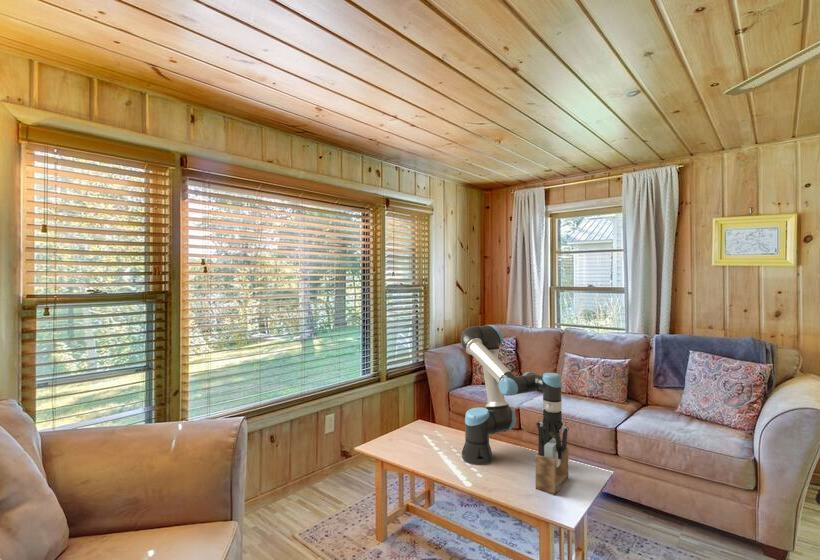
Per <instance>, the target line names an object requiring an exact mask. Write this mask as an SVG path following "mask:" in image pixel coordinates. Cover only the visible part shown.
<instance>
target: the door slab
mask: <svg viewBox="0 0 820 560" xmlns="http://www.w3.org/2000/svg"><path fill="white" fill-rule="evenodd" d="M556 451H557V445H556V439H555V438H552V439H551V440H550V441H549V442H548V443H546V444H545V445H544V457H547V458H551V459H554V460H556ZM560 464H561V459H560ZM556 468H557V467H556Z"/></svg>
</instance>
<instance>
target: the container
mask: <svg viewBox="0 0 820 560" xmlns="http://www.w3.org/2000/svg"><path fill="white" fill-rule="evenodd" d="M536 426H537V425H536ZM537 428H538V426H537ZM545 432H546V428H545V426H544V425H543V434H544V440H545V434H546V433H545ZM552 438H555V435H554V433H553V432H550V438H549V441H550V440H551V439H552ZM537 447H538V449H537V450H538V451H537V455H540V456H544V447H543V446H540V445H539V438H538V446H537Z"/></svg>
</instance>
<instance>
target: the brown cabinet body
mask: <svg viewBox="0 0 820 560" xmlns="http://www.w3.org/2000/svg"><path fill="white" fill-rule="evenodd" d="M567 481H569V447H568V446H567V449H566V450H565V451H562V458H561V464H560V465H559V466H558V467H557V468H556V460H554V459H551V458H547V457H544V456H540V455H538V454H536V455H535V490H538V491H541V492H543V493H546V494H549V495H552V496H555V495H556V494H558V492H559V491H560V490H561V489H562V488H563V487H564V485H565V484H566V483H567Z"/></svg>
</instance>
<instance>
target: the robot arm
mask: <svg viewBox="0 0 820 560" xmlns="http://www.w3.org/2000/svg"><path fill="white" fill-rule="evenodd" d="M502 333H503V332H502V330H501V329H500V328H499V327H497V326H496V325H493V324H486V325H485V324H484V325H474V326H473V325H472V326H468V327H467V328H465V329H464V330H463V331H462V333H461V335H460V343H461V347H462V349H463V351H465V353H467V354H468V355H471V356H473V358H474V359H475V360H477V362H478V363H479V364H480V365H481V366H482V371H483V377H484V384H485V390H486V391H485V392H486V396H487V402H486V404H485V407H472V408H470V409H468V410H467V411H466V412H465V417H464V424H465V425H464V426H465V427H464V431H465V432H464V433H465V435H464V437H465V440H464V444H463V447H462V450H461V458H462V460H463V461H464V462H465V463H468V464H471V465H481V466H482V465H487V464H490V463H492V462H493V460H494V454H493V450H492V447H491V444H490V436H492V435H495V434H501V433H506V432H508V431H511V430H512V429H513V428H514V427H515V424H516V420H517V418H516V417H517V416H516V413H515V411H514V409H513V408H512V407H511V406H510V405H509V403H508V402H507V401H506V399H505V396H506V397H509V396H510V397H511V396H515V395H520V394H521V395H522V394H526V393H532V392H537V393H538V394H539V393H540V394H542V408H543V410H542V412H543V414H542V421H541V420H540V421H538V422H536V426H538V427H537V432H538V439H539V445H540V446H543V447H544V445H545V444H546V443H548V442H549V438H550V432H553V433H554V435H555V439H556V445H557V451H556V467H558V466H559V465H560V459H561V458H562V451H565V450H566V449H567V447H568V445H567V444H568V432H569V430H570V427H569V426H568V427H566V426H565V425H564V424H563V421H562V420H563V419H562V417H563V415H562V414H563V413H562V407H563V405H562V401H563V400H562V385H563V384H562V377H561V375H560V373H556V372H544V373H542V375H541V374H537V373H535V372H530V371H528V372H527V371H526V372H525V373H523V374H522V375H517V376H516V375H515V373H513V372H512V371H511V370H510V369H509V368H508V367H507V366H506V365H505V364H504V363H503V362H502V361H501V360H500V359H499V352H500V350H501V349H500V348H501V346H502V344H503V341H504V336H503V334H502ZM543 425H544V426H545V428H546V432H545V433H546V434H545V440H544V434H543ZM561 429H562V430H561ZM560 431H561V432H562V435H561V434H560ZM561 438H562V439H561Z"/></svg>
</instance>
